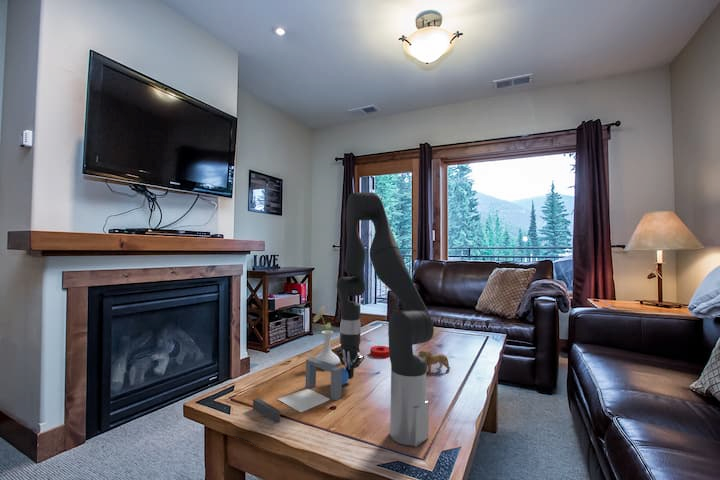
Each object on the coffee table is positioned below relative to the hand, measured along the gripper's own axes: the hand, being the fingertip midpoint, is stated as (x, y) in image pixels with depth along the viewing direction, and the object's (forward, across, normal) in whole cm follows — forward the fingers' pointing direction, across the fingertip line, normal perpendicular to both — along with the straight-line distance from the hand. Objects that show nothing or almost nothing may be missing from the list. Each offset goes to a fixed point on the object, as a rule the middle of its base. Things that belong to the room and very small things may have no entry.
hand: (349, 378), depth 124 cm
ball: (-2, -1, -4) cm, 4 cm away
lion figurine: (+2, +15, +33) cm, 36 cm away
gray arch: (+1, 0, -13) cm, 13 cm away
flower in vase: (+2, -20, +5) cm, 20 cm away
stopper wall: (+1, +1, -35) cm, 35 cm away
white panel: (+1, 0, -21) cm, 21 cm away
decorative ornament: (+2, -14, +33) cm, 36 cm away
